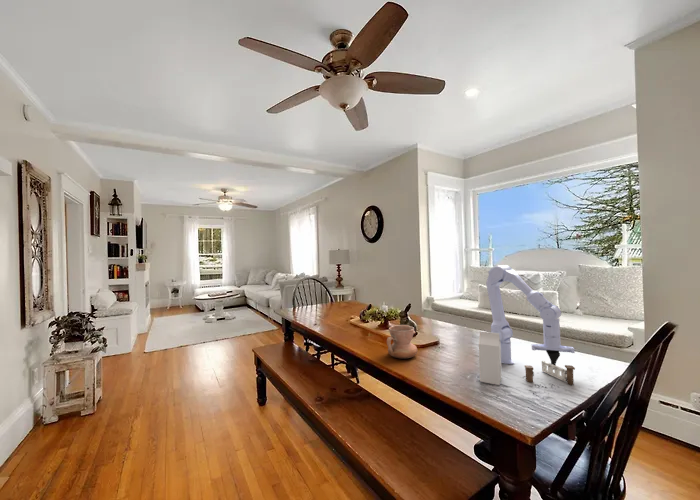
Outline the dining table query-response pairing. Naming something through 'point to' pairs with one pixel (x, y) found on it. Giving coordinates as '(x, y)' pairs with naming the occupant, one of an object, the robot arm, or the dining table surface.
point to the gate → (556, 370)
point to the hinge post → (570, 374)
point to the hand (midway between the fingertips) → (553, 368)
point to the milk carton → (490, 358)
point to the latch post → (529, 373)
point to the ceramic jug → (401, 342)
